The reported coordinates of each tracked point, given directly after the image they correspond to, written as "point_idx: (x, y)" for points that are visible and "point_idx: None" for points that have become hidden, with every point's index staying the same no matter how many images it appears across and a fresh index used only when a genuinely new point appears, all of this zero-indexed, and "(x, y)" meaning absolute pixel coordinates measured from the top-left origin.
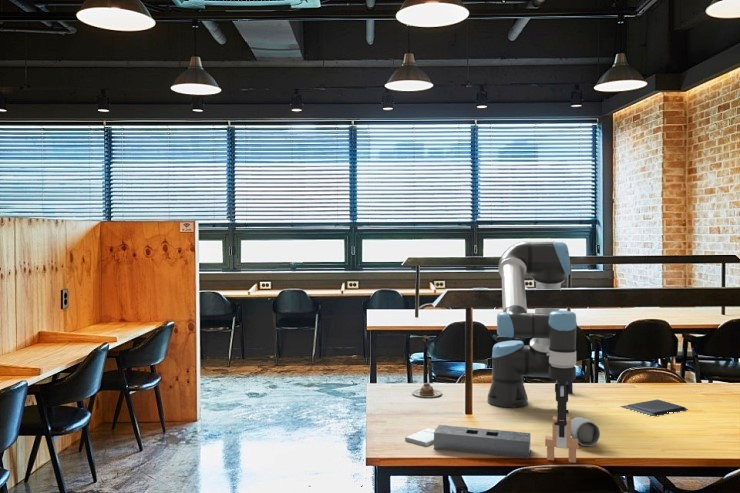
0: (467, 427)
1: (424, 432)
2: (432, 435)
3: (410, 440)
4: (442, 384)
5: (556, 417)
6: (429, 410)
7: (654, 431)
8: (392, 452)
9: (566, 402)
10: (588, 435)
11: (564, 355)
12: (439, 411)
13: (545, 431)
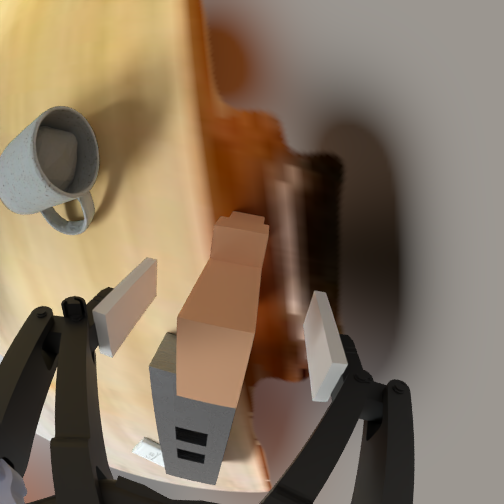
0: (162, 454)
1: (156, 461)
2: None
3: None
4: None
5: (195, 387)
6: (47, 413)
7: (20, 5)
8: (246, 484)
9: (412, 502)
10: (64, 146)
11: None
12: None
13: (28, 257)
